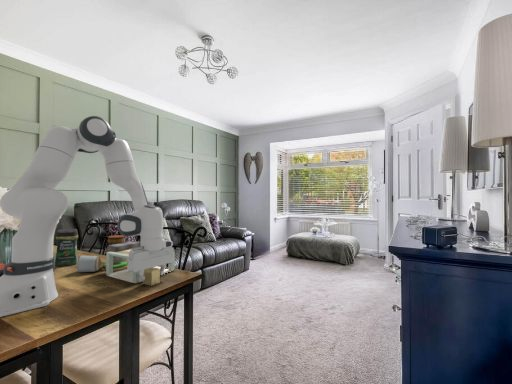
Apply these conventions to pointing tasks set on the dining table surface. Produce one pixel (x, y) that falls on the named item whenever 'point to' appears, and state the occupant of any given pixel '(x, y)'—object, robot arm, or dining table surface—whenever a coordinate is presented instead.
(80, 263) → the ceramic mug
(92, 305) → the dining table surface
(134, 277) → the frame
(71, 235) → the coffee jar
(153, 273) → the block
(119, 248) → the trapdoor plate
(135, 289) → the dining table surface
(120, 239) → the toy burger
